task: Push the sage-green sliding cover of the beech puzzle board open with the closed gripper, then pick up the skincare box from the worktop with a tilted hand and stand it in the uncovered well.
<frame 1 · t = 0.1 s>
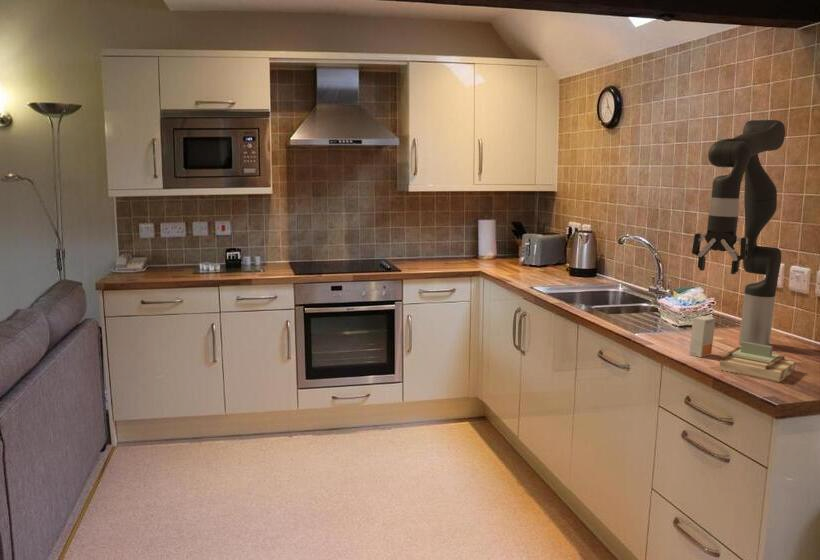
hand: (717, 272, 195), 29 cm above the worktop, tool pointing down, fingers open, 8 cm apart
board: (756, 370, 202), on the worktop
cover: (756, 350, 205), point 5 cm above the worktop, slide at 0.0 cm
skincare box: (700, 355, 218), on the worktop
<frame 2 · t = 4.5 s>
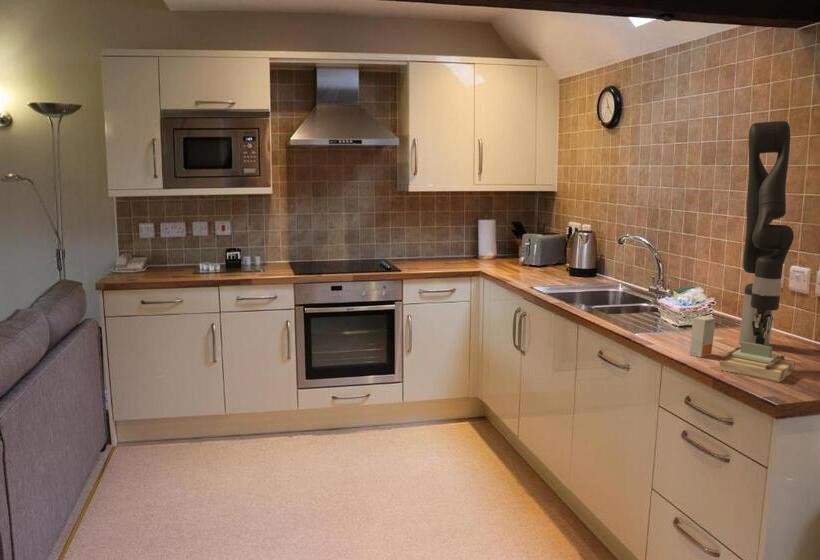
hand: (759, 349, 206), 5 cm above the worktop, tool pointing down, fingers closed
cover: (756, 350, 204), point 5 cm above the worktop, slide at 0.3 cm, touching gripper
everything else where it was.
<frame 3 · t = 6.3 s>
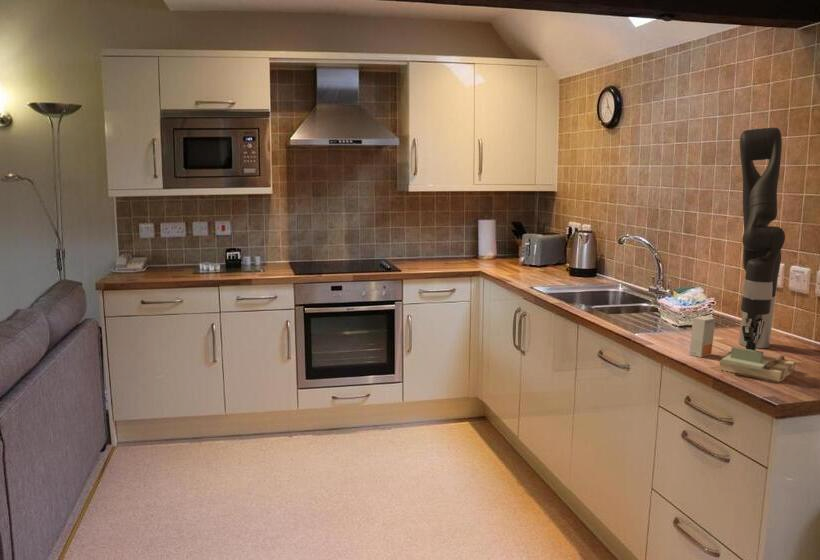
hand: (750, 354, 200), 5 cm above the worktop, tool pointing down, fingers closed
cover: (746, 356, 198), point 5 cm above the worktop, slide at 9.0 cm, touching gripper
everything else where it was.
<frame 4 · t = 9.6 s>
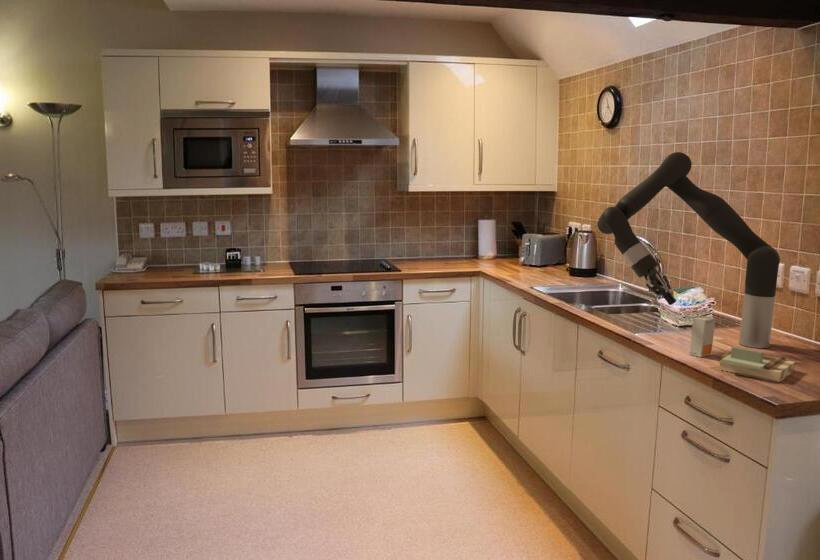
hand: (673, 303, 221), 15 cm above the worktop, tool tilted 45°, fingers closed
cover: (746, 356, 198), point 5 cm above the worktop, slide at 9.0 cm
everything else where it was.
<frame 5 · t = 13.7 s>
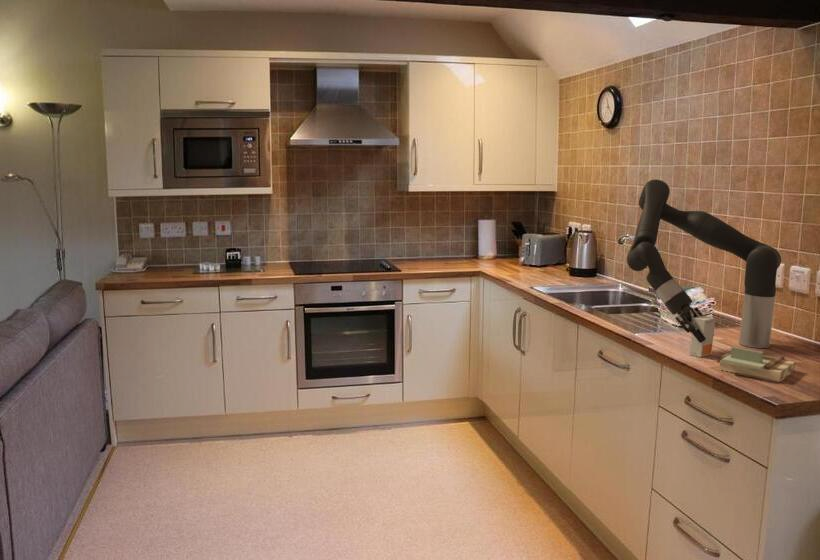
hand: (707, 339, 216), 5 cm above the worktop, tool tilted 45°, fingers closed on skincare box, 6 cm apart
skincare box: (700, 355, 218), on the worktop, touching gripper
everything else where it was.
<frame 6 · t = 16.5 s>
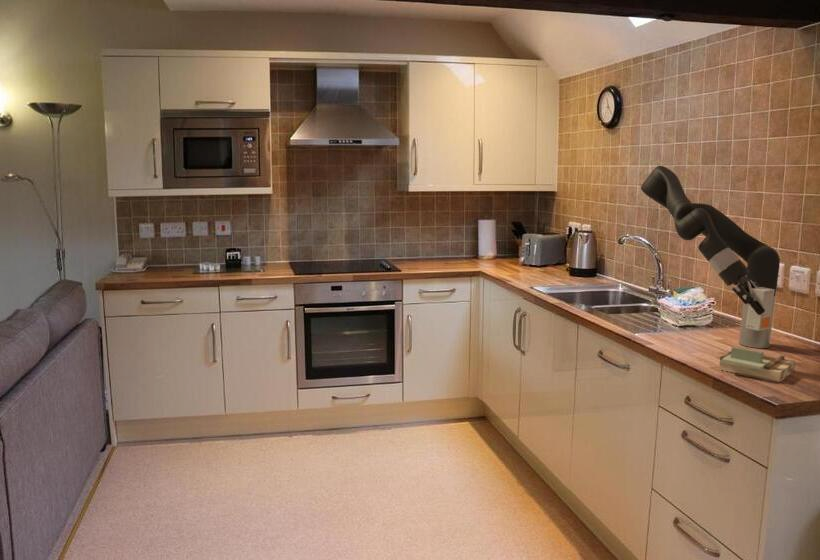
hand: (765, 311, 202), 17 cm above the worktop, tool tilted 45°, fingers closed on skincare box, 6 cm apart
skincare box: (757, 329, 204), point 12 cm above the worktop, touching gripper
everything else where it was.
when the fingers open (8 cm above the worktop, at t = 19.3 s): skincare box drops 2 cm, resting on board.
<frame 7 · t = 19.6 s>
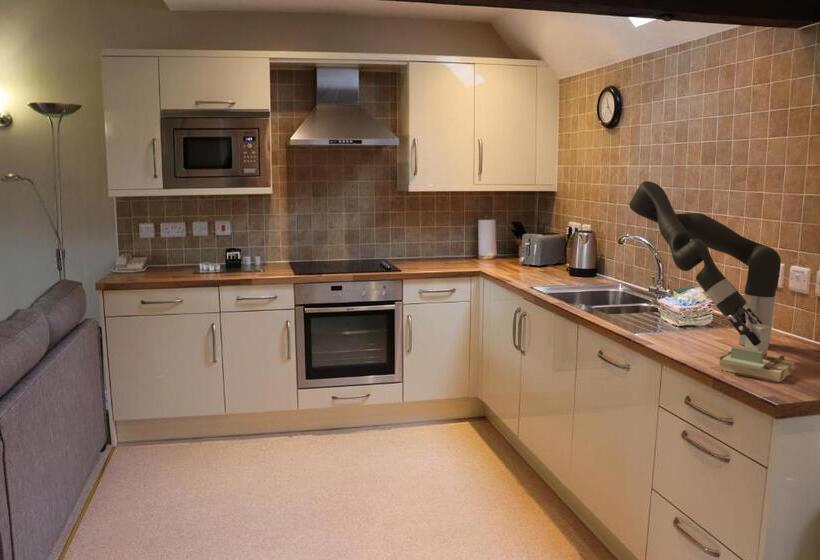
hand: (762, 341, 203), 8 cm above the worktop, tool tilted 45°, fingers open, 8 cm apart
skincare box: (754, 365, 206), resting on board
everything else where it was.
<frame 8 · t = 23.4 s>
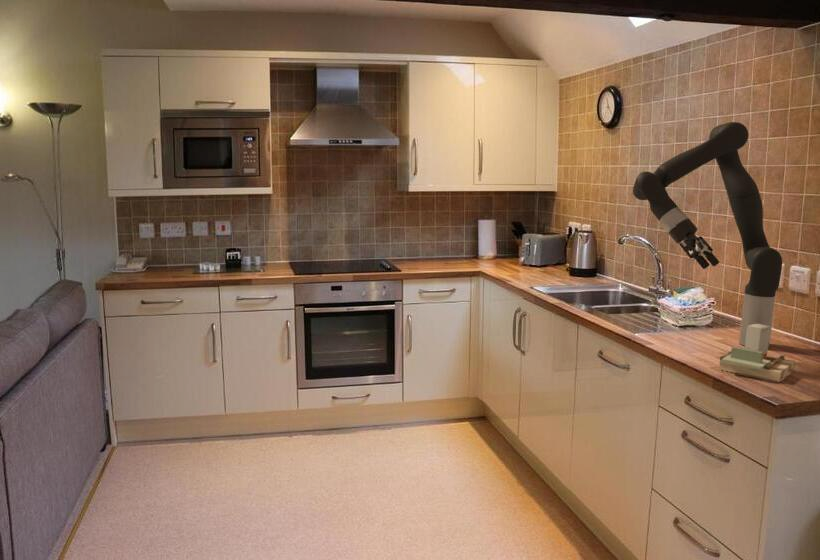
hand: (711, 265, 211), 29 cm above the worktop, tool tilted 45°, fingers open, 8 cm apart
nothing on the worktop moved.
at the end: cover slide at 9.0 cm; skincare box inside the target area on the board (0.4 cm from its centre), point 0.5 cm above the board's base; skincare box tilted 0° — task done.
